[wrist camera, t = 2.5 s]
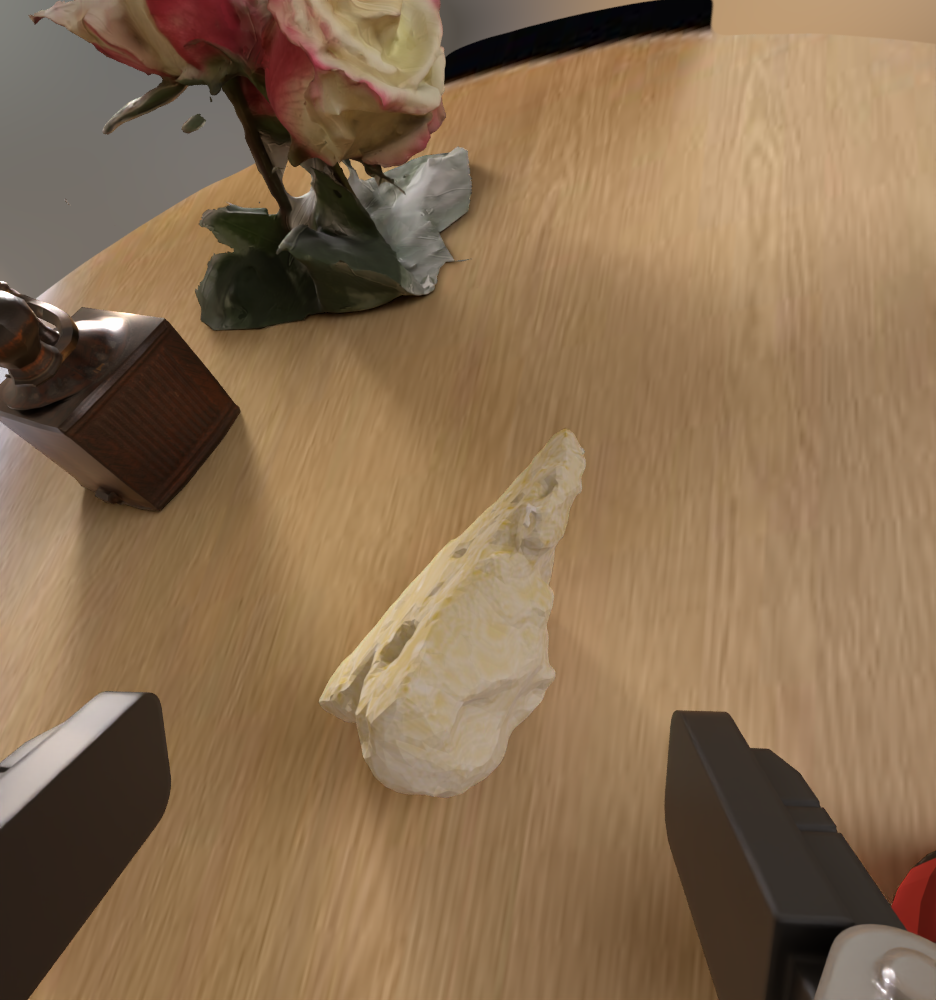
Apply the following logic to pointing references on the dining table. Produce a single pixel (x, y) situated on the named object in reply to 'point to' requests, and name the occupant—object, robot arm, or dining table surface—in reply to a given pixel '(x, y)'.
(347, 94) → the rose bouquet
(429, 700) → the cream rock
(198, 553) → the dining table surface
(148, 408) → the manual coffee grinder
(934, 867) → the canned food
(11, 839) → the robot arm
